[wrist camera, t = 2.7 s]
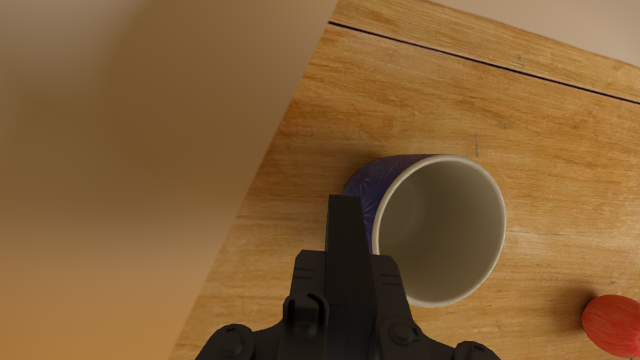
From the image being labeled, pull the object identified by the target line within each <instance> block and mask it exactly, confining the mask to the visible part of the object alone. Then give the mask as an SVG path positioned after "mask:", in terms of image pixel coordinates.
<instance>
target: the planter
mask: <svg viewBox="0 0 640 360" xmlns="http://www.w3.org/2000/svg"><path fill="white" fill-rule="evenodd" d="M342 195H346V196H359V197H361V203H362V209H363V216H364V222H365V228H366V234H367V240H368V246H369V253H370V254H377V255H390V256H391V257H392V258H393V260H394V261H395V262H396V263H397V265H398V267H399V271H400V275H401V278H402V282H403V286H404V289H405V293H406V297H407V300H408V303H409V304H411V305H414V306H418V307H423V308H438V307H444V306H447V305H451V304H453V303H456V302H458V301H460V300H462V299H464V298H465V297H467V296H469V295H470V294H471V293H473V292H474V291H475V290H476V289H477V288H478V287H479V286H480V285H481V284H482V283H483V282H484V281H485V280H486V279H487V277H488V276H489V275H490V273H491V272H492V270H493V268H494V267H495V265H496V263H497V261H498V259H499V256H500V254H501V251H502V248H503V244H504V240H505V235H506V224H507V221H506V208H505V203H504V199H503V196H502V193H501V191H500V188H499V187H498V185H497V183H496V181H495V180H494V178H493V177H492V176H491V175H490V173H489V172H488V171H487V170H486V169H485V168H484V167H483V166H481V165H480V164H478V163H477V162H475V161H473V160H472V159H469V158H467V157H464V156H460V155H455V154H412V155H396V156H389V157H384V158H380V159H377V160H374V161H372V162H370V163H368V164H366V165H365V166H363V167H362V168H360V169H359V170H358V171H357V172H356V173H355V174H354V175H353V176H352V177H351V178H350V180H349V181H348V183H347V184H346V186H345V188H344V190H343V193H342Z"/></svg>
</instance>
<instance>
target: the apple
mask: <svg viewBox="0 0 640 360" xmlns="http://www.w3.org/2000/svg"><path fill="white" fill-rule="evenodd" d="M582 325H583V328H584V331H585V333H586V334H587V336H588V337H589V338H590V340H591V341H592V342H593V343H594V344H596V345H597V346H598V347H600V348H601V349H602V350H604V351H606V352H608V353H610V354H612V355H615V356H618V357H622V358H638V357H640V303H638V302H637V301H635V300H632V299H630V298H627V297H623V296H619V295H603V296H599V297H597V298H595V299H593V300H591V301H590V302H589V303H588V305H587V306H586V308H585V310H584V311H583V313H582Z"/></svg>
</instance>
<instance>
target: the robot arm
mask: <svg viewBox="0 0 640 360" xmlns="http://www.w3.org/2000/svg"><path fill="white" fill-rule="evenodd" d="M195 360H501V359H500V358H499V357H498V356H497V355H496V354H495V353H494V352H493V351H492V350H490V349H489V348H487V347H486V346H484V345H482V344H480V343H477V342H474V341H463V342H461V343H458V344H457V346H456V348H453V347H450V346H448V345H445V344H442V343H440V342H437V341H435V340H433V339H431V338H429V337H428V336H426V335H425V334H423V332H422V330H421V328H420V327H419V326H418V325H417V324H416V323H415V322H414V321H413V318H412V315H411V311H410V308H409V304H408V300H407V297H406V293H405V289H404V286H403V282H402V278H401V275H400V271H399V267H398V265H397V263H396V262H395V261H394V260H393V258H392V257H391V256H390V255H377V254H370V253H369V246H368V240H367V234H366V228H365V222H364V216H363V209H362V203H361V197H359V196H346V195H333V194H329V203H328V214H327V226H326V237H325V251H314V250H302V251H301V252H300V253H299V254H298V256H297V257H296V259H295V265H294V271H293V278H292V283H291V289H290V295H289V296H288V297H287V298H286V299H285V302H284V304H283V319H282V320H281V321H280V322H279V323H277V324H276V325H274V326H272V327H270V328H267V329H263V330H259V331H254V332H252V330H251V329H250V328H248V327H247V326H245V325H242V324H230V325H226V326H224V327H222V328H220V329H218V330H217V331H216V332H215V333H214V334H213V335H212V336H211V337H210V338H209V340H208V341H207V343H206V344H205V346H204V347H203V348H202V350H201V351H200V353H199V354H198V356H197V357H196V359H195Z"/></svg>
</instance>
